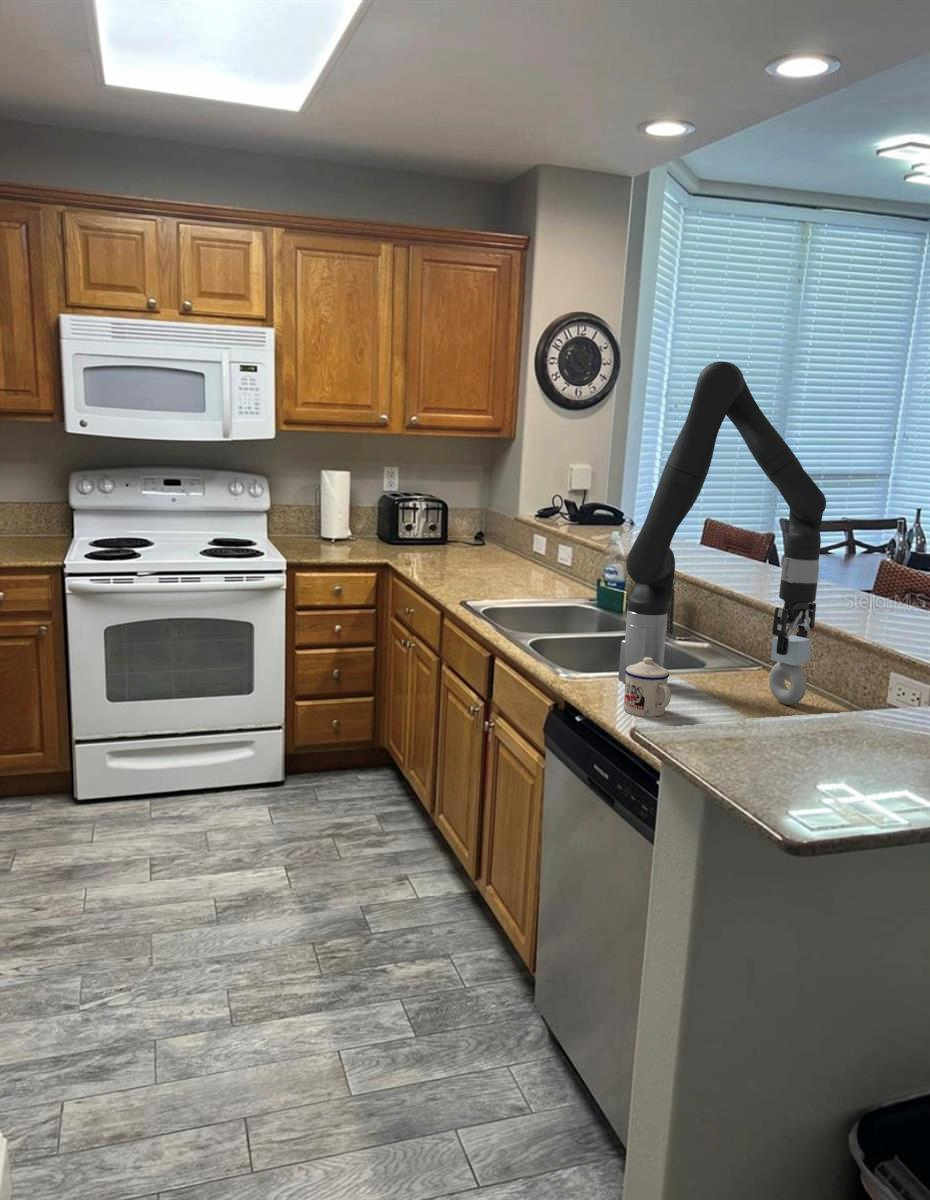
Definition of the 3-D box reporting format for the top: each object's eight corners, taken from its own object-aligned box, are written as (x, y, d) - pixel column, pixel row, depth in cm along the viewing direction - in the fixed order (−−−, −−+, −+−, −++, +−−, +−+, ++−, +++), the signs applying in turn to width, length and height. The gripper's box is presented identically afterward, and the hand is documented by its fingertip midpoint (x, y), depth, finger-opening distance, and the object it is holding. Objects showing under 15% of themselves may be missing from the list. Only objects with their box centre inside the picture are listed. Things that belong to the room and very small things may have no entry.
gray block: (770, 659, 202) (772, 637, 201) (784, 655, 206) (786, 634, 205) (796, 665, 198) (798, 643, 197) (809, 661, 202) (812, 639, 201)
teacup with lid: (613, 707, 197) (617, 654, 194) (646, 702, 201) (651, 651, 199) (649, 724, 186) (654, 669, 184) (684, 719, 191) (689, 665, 188)
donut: (763, 698, 208) (768, 655, 206) (775, 697, 209) (780, 654, 207) (795, 711, 199) (800, 667, 197) (807, 710, 200) (812, 665, 199)
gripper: (799, 573, 206) (791, 643, 209) (766, 578, 197) (758, 652, 200) (831, 578, 201) (822, 650, 204) (799, 584, 191) (791, 660, 194)
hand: (791, 651), depth 202 cm, fingers open, 8 cm apart
